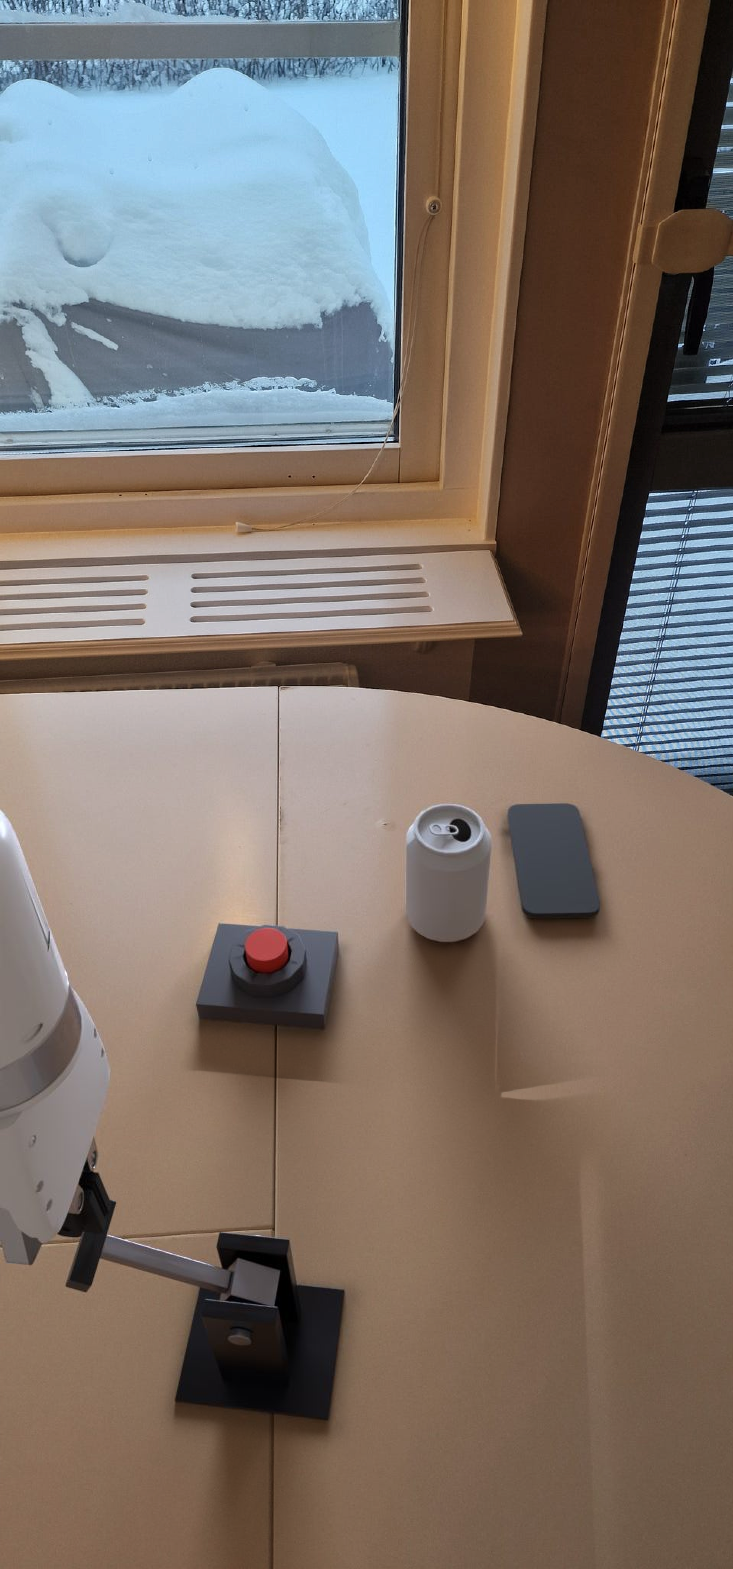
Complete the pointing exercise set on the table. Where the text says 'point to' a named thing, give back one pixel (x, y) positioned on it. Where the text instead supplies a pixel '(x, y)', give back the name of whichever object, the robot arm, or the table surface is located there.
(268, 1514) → the table surface
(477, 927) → the can
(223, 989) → the button block
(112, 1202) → the lever
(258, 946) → the button
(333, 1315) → the bracket
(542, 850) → the phone
